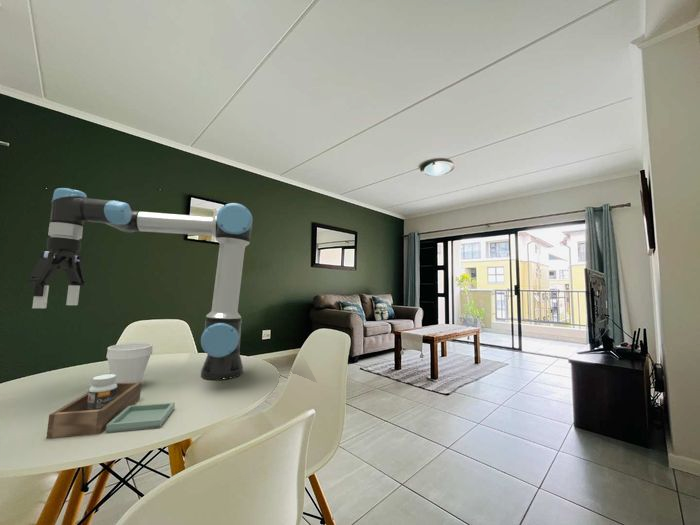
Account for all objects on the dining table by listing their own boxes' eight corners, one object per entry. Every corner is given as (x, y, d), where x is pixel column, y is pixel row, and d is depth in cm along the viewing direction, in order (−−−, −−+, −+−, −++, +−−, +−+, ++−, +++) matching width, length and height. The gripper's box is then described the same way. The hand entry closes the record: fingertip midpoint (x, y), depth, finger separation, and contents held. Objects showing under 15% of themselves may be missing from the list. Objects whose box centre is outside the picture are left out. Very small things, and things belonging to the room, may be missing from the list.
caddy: (139, 398, 85) (141, 381, 86) (100, 433, 65) (103, 410, 66) (100, 401, 82) (102, 383, 83) (46, 438, 62) (49, 414, 63)
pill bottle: (97, 422, 70) (101, 381, 71) (79, 419, 72) (84, 378, 72) (120, 412, 76) (123, 374, 77) (102, 409, 77) (107, 372, 78)
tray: (174, 409, 79) (174, 402, 79) (159, 427, 68) (160, 420, 69) (128, 412, 76) (128, 405, 76) (105, 432, 65) (106, 424, 66)
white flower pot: (136, 393, 89) (140, 349, 90) (92, 395, 87) (97, 349, 88) (156, 381, 101) (160, 342, 102) (118, 382, 99) (122, 342, 100)
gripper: (77, 243, 99) (69, 304, 97) (15, 229, 75) (4, 309, 73) (102, 244, 101) (95, 304, 99) (49, 231, 77) (40, 309, 75)
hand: (56, 306), depth 86 cm, fingers open, 13 cm apart
